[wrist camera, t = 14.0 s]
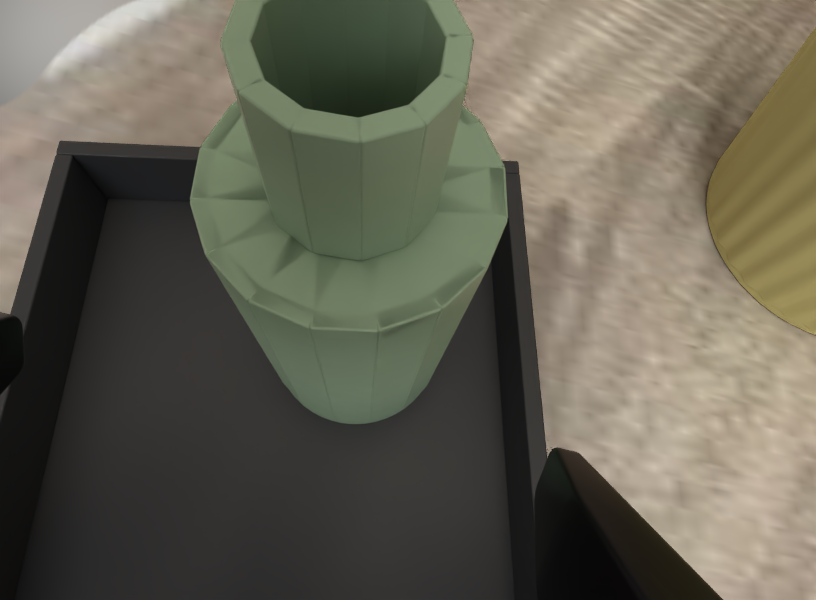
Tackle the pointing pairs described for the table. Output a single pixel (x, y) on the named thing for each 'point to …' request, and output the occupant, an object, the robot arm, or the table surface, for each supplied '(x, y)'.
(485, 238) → the bottle
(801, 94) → the potted cactus
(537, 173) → the table surface
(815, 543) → the table surface
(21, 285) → the tray
